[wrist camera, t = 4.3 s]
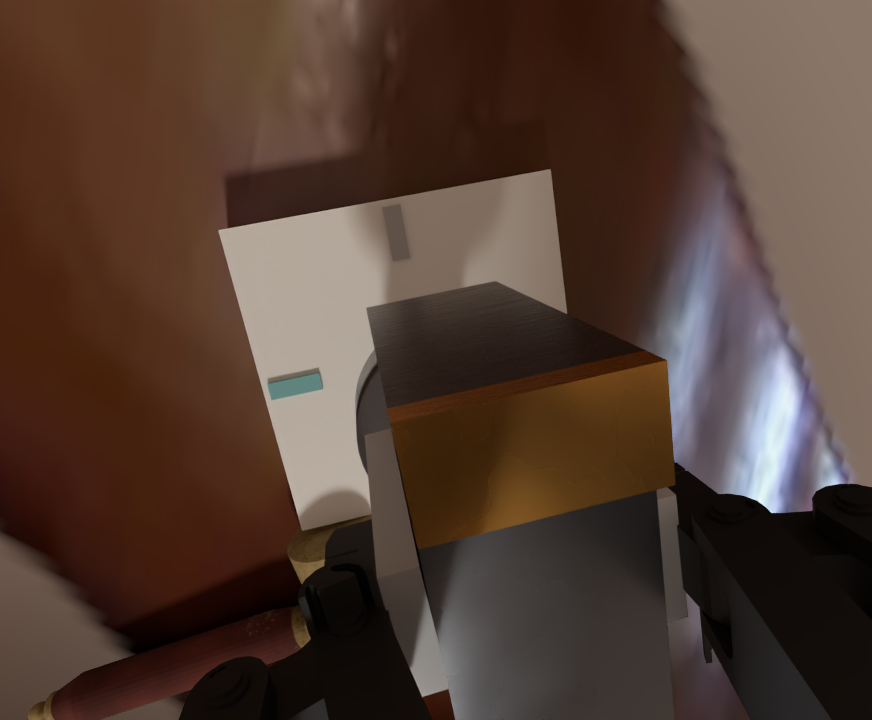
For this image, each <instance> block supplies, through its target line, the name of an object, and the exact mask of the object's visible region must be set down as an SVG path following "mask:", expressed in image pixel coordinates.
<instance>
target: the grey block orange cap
mask: <svg viewBox="0 0 872 720" xmlns="http://www.w3.org/2000/svg"><path fill="white" fill-rule="evenodd" d="M366 310H367V315H368V320H369V325H370V329H371V334H372V339H373V344H374V348H375V349H374V351H373V352H372V353H371V355H370V356H369V357H368V359H367V361H366V363H365V364H364V366H363V369H362V371H361V373H360V376H359V379H358V383H357V387H356V395H355V412H356V433H357V445H358V451H359V455H360V458H361V461H362V465H363V467H364V469H365V471H366V473H367V475H368V469H367V457H366V446H365V435H368V434H371V433H375V432H379V431H383V430H387V429H391V432H392V436H393V440H394V444H395V448H396V452H397V457H398V461H399V466H400V470H401V475H402V479H403V484H404V489H405V493H406V498H407V502H408V507H409V511H410V516H411V520H412V525H413V530H414V534H415V539H416V543H417V548H418V552H419V556H420V561H421V565H422V570H423V574H424V579H425V584H426V588H427V593H428V597H429V602H430V606H431V611H432V615H433V620H434V625H435V629H436V634H437V638H438V643H439V647H440V652H441V656H442V661H443V666H444V670H445V675H446V679H447V684H448V688H449V693H450V697H451V702H452V706H453V711H454V716H455V720H675V714H674V701H673V689H672V676H671V664H670V651H669V639H668V626H667V614H666V601H665V589H664V576H663V564H662V551H661V539H660V526H659V514H658V501H657V490H658V489H662V488H666V487H669V486H673V485H675V470H674V456H673V442H672V427H671V413H670V398H669V384H668V369H667V360H665V359H663V358H661V357H659V356H656V355H654V354H652V353H650V352H648V351H646V350H644V349H641V348H639V347H637V346H635V345H633V344H631V343H628V342H626V341H624V340H622V339H620V338H618V337H615V336H613V335H611V334H609V333H607V332H605V331H602V330H600V329H598V328H596V327H594V326H592V325H589V324H587V323H585V322H583V321H581V320H579V319H577V318H574V317H572V316H570V315H568V314H566V313H564V312H561V311H559V310H557V309H555V308H553V307H551V306H548V305H546V304H544V303H542V302H540V301H538V300H535V299H533V298H531V297H529V296H527V295H525V294H522V293H520V292H518V291H516V290H514V289H512V288H510V287H507V286H505V285H503V284H501V283H499V282H497V281H493V282H488V283H483V284H479V285H474V286H469V287H464V288H459V289H454V290H449V291H445V292H440V293H435V294H430V295H425V296H420V297H416V298H411V299H406V300H401V301H396V302H391V303H387V304H382V305H377V306H372V307H367V308H366Z"/></svg>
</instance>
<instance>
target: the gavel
mask: <svg viewBox="0 0 872 720" xmlns="http://www.w3.org/2000/svg"><path fill="white" fill-rule="evenodd" d="M370 519H372V516H371V514H370V515H366V516H362V517H358V518H354V519H350V520H345V521H341V522H337V523H333V524H329V525H325V526H320V527H316V528H312V529H308V530H304V531H302V529H301V527H300V528H299V529H298V530H297V532H296V533H295V534H294V535H293V537H292V538H291V540H290V542H289V544H288V547H287V553H288V556H289V558H290V560H291V563H292V565H293V567H294V569H295V571H296V573H297V575H298V578H299V580H300V582H301V584H303V582H304V580H305V579H306V578H307V577H308V576H310V575H311V574H312V573H313V572H314V571H315V570H317V569H319V568H321V567H323V566H324V562H325V545H326V542H327V541H328V539H329V538H330V536H331V535H332V533H333V531H334V530H335V529H337V528H341V527H345V526H348V525H352V524H356V523H359V522H363V521H367V520H370ZM310 639H311V637H310V634H309V631H308V628H307V625H306V622H305V619H304V616H303V613H302V610H301V607H300V605H297V606H293V607H286V608H279V609H272V610H269V611H266V612H263V613H260V614H257V615H254V616H251V617H248V618H245V619H242V620H239V621H236V622H233V623H230V624H227V625H224V626H221V627H218V628H215V629H212V630H209V631H206V632H203V633H200V634H197V635H194V636H191V637H188V638H185V639H182V640H179V641H176V642H173V643H170V644H167V645H164V646H161V647H158V648H155V649H152V650H149V651H146V652H143V653H140V654H137V655H134V656H130V657H127V658H124V659H121V660H118V661H115V662H112V663H109V664H106V665H103V666H101V667H98V668H94V669H91V670H88V671H85V672H83V673H82V674H80V675H79V676H77V677H76V678H75V679H73V680H72V681H71V682H70V683H68V684H67V685H65V686H64V687H63V688H61V689H60V690H58V691H55V692H53V693H52V694H51V695H50V696H49V697H48V698H47V700H46V701H45V702H39V703H37V704H36V705H34V706H33V707H32V708H31V709H30V711H29V715H28V718H29V720H100V719H103V718H106V717H110V716H113V715H115V714H119V713H121V712H125V711H127V710H131V709H133V708H137V707H140V706H143V705H145V704H149V703H151V702H155V701H158V700H161V699H164V698H167V697H170V696H173V695H176V694H179V693H182V692H185V691H188V690H191V689H192V688H193V687H194V685H195V684H196V683H197V682H198V681H199V680H200V679H201V678H202V677H203V676H204V675H205V674H206V673H208V672H209V671H210V670H212V669H213V668H215V667H216V666H218V665H219V664H221V663H224V662H226V661H229V660H231V659H234V658H236V657H245V656H252V657H256V658H259V659H261V660H262V661H263V662H264V663H265V664H266V665H267V664H270V663H273V662H276V661H279V660H282V659H284V658H286V657H288V656H290V655H291V654H293V653H295V652H297V651H299V650H300V649H301V648H302V647H303V646H304V645H305V644H307V643H308V642H309V640H310Z"/></svg>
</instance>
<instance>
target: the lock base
mask: <svg viewBox="0 0 872 720" xmlns="http://www.w3.org/2000/svg"><path fill="white" fill-rule="evenodd" d="M218 231H219V234H220V238H221V241H222V245H223V249H224V252H225V256H226V259H227V263H228V267H229V270H230V274H231V277H232V281H233V285H234V288H235V292H236V295H237V299H238V303H239V306H240V310H241V313H242V317H243V320H244V324H245V328H246V331H247V335H248V338H249V342H250V346H251V349H252V353H253V356H254V360H255V364H256V367H257V371H258V374H259V378H260V381H261V385H262V389H263V392H264V396H265V399H266V403H267V407H268V410H269V414H270V417H271V421H272V425H273V428H274V432H275V435H276V439H277V443H278V446H279V450H280V453H281V457H282V460H283V464H284V468H285V471H286V475H287V478H288V482H289V486H290V489H291V493H292V496H293V500H294V504H295V507H296V511H297V514H298V518H299V521H300V525H301V529H302V531H304V530H308V529H312V528H316V527H320V526H325V525H329V524H333V523H337V522H341V521H345V520H350V519H354V518H358V517H362V516H366V515H370V514H371V504H370V493H369V481H368V475H367V473H366V471H365V469H364V467H363V465H362V461H361V458H360V455H359V451H358V445H357V433H356V412H355V395H356V387H357V383H358V379H359V376H360V373H361V371H362V369H363V366H364V364H365V363H366V361H367V359H368V357H369V356H370V355H371V353H372V352H373V351H374V349H375V348H374V344H373V339H372V334H371V329H370V325H369V320H368V315H367V310H366V308H367V307H372V306H377V305H382V304H387V303H391V302H396V301H401V300H406V299H411V298H416V297H420V296H425V295H430V294H435V293H440V292H445V291H449V290H454V289H459V288H464V287H469V286H474V285H479V284H483V283H488V282H493V281H497V282H499V283H501V284H503V285H505V286H507V287H510V288H512V289H514V290H516V291H518V292H520V293H522V294H525V295H527V296H529V297H531V298H533V299H535V300H538V301H540V302H542V303H544V304H546V305H548V306H551V307H553V308H555V309H557V310H559V311H561V312H564V313H566V314H567V308H566V299H565V290H564V281H563V273H562V264H561V255H560V246H559V238H558V229H557V220H556V212H555V203H554V194H553V185H552V177H551V169H548V170H543V171H538V172H532V173H527V174H521V175H516V176H510V177H505V178H500V179H494V180H489V181H483V182H478V183H472V184H467V185H461V186H456V187H451V188H445V189H440V190H434V191H429V192H423V193H418V194H413V195H407V196H402V197H396V198H391V199H385V200H380V201H375V202H369V203H364V204H358V205H353V206H347V207H342V208H336V209H331V210H326V211H320V212H315V213H309V214H304V215H298V216H293V217H288V218H282V219H277V220H271V221H266V222H260V223H255V224H250V225H244V226H239V227H233V228H228V229H222V230H218Z"/></svg>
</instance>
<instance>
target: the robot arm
mask: <svg viewBox="0 0 872 720" xmlns="http://www.w3.org/2000/svg"><path fill="white" fill-rule="evenodd" d="M365 446H366V457H367V469H368V481H369V493H370V504H371V516H372V519H370V520H367V521H363V522H359V523H356V524H352V525H348V526H345V527H341V528H337V529H335V530H334V531H333V533H332V535H331V536H330V538H329V539H328V541H327V542H326V545H325V562H324V566H323V567H321V568H319V569H317V570H315V571H314V572H313V573H312V574H311V575H310V576H308V577H307V578H306V579H305V580H304V582H303V584H302V585H301V587H300V588H299V593H298V601H299V604H300V607H301V610H302V613H303V616H304V619H305V622H306V625H307V628H308V631H309V634H310V637H311V639H310V640H309V642H308V643H307V644H305V645H304V646H303V647H302V648H301V649H300V650H299V651H297V652H295V653H294V654H292V655H291V656H289V657H288V658H286V659H284V660H282V661H280V662H279V663H277V664H275V665H273V666H271V667H269V668H268V667H267V666H266V664H265V663H264V662H263V661H262V660H261V659H259V658H256V657H252V656H245V657H236V658H234V659H231V660H229V661H226V662H224V663H221V664H219V665H218V666H216V667H215V668H213V669H212V670H210V671H209V672H208V673H206V674H205V675H204V676H203V677H202V678H201V679H200V680H199V681H198V682H197V683H196V684H195V685H194V687H193V688H192V690H191V692H190V694H189V695H188V697H187V699H186V701H185V704H184V707H183V710H182V712H181V715H180V718H179V720H432V718H431V716H430V714H429V711H428V709H427V707H426V704H425V702H424V700H423V696H427V695H430V694H433V693H437V692H440V691H443V690H447V689H449V688H448V684H447V679H446V675H445V670H444V666H443V661H442V656H441V652H440V647H439V643H438V638H437V634H436V629H435V625H434V620H433V615H432V611H431V606H430V602H429V597H428V593H427V588H426V584H425V579H424V574H423V570H422V565H421V561H420V556H419V552H418V548H417V543H416V539H415V534H414V530H413V525H412V520H411V516H410V511H409V507H408V502H407V498H406V493H405V489H404V484H403V479H402V475H401V470H400V466H399V461H398V457H397V452H396V448H395V444H394V440H393V436H392V432H391V429H387V430H383V431H379V432H375V433H371V434H368V435H365ZM674 470H675V485H673V486H669V487H666V488H662V489H658V490H657V501H658V514H659V526H660V539H661V551H662V564H663V576H664V589H665V601H666V614H667V623H669V622H672V621H675V620H679V619H682V618H685V617H688V611H687V601H686V592H687V594H688V595H689V596H690V597H691V598H692V599H693V600H694V601H695V602H696V604H697V605H698V606H699V607H700V618H701V628H702V639H703V650H704V656H705V660H706V663H712V654H711V650H712V648H713V650H714V652H715V654H716V656H717V657H718V659H719V661H720V663H721V665H722V667H723V669H724V670H725V672H726V674H727V676H728V678H729V680H730V682H731V683H732V685H733V687H734V689H735V691H736V693H737V695H738V697H739V698H740V700H741V702H742V704H743V706H744V708H745V710H746V711H747V713H748V715H749V717H750V719H751V720H872V487H867V486H862V485H858V484H838V485H832V486H826V487H824V488H822V489H820V490H818V491H816V493H815V494H814V496H813V498H812V507H813V511H806V512H791V513H771V512H770V511H769V510H768V509H767V508H766V507H765V506H763V505H762V504H760V503H759V502H758V501H756V500H753V499H751V498H748V497H745V496H741V495H734V494H717V493H716V492H715V491H713V490H712V489H711V488H709V487H708V486H707V485H706V484H704V483H703V482H702V481H700V480H699V479H698V478H696V477H695V476H694V475H692V474H691V473H690V472H688V471H685V469H684V468H683V467H682V466H680V465H679V464H678V463H675V462H674Z"/></svg>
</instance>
